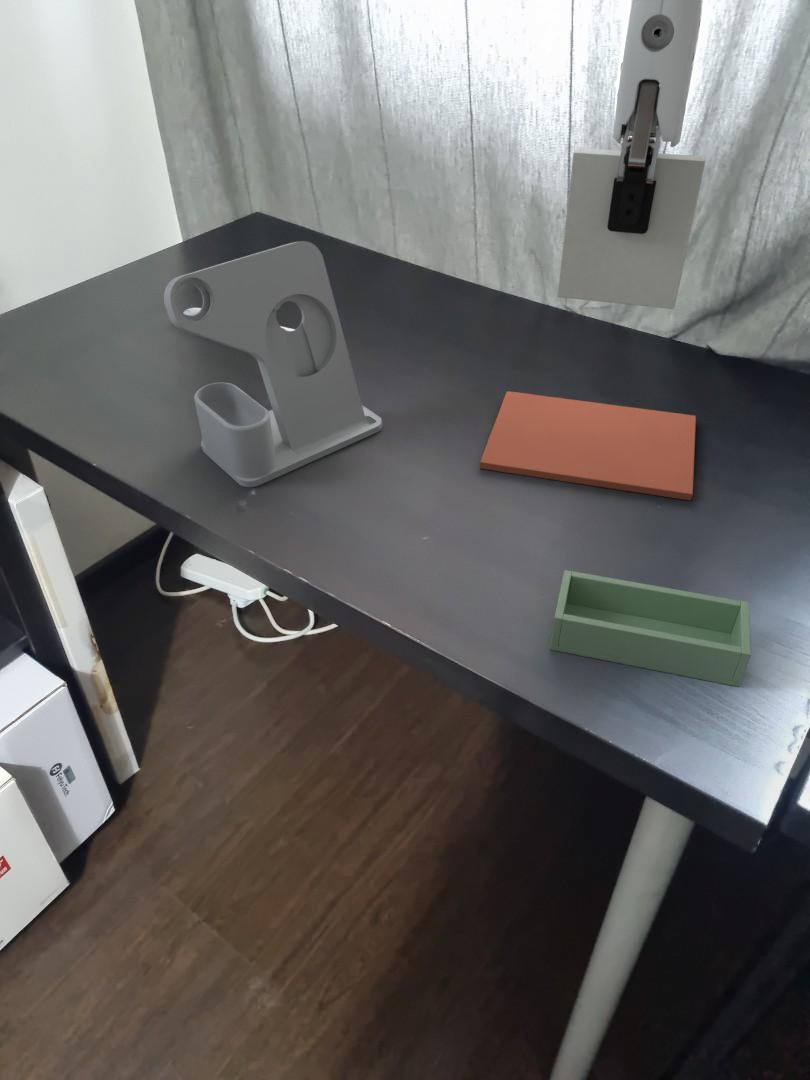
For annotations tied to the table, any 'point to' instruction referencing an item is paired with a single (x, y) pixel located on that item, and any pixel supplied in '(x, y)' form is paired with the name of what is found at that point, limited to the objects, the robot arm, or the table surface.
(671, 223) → the board
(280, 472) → the phone holder
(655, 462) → the mat
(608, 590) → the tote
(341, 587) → the table surface
